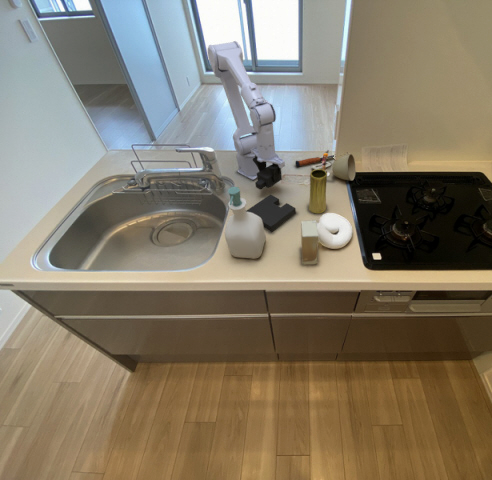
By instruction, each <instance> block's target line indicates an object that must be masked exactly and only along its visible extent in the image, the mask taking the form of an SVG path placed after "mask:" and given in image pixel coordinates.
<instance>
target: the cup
mask: <svg viewBox="0 0 492 480" xmlns="http://www.w3.org/2000/svg"><path fill="white" fill-rule="evenodd" d="M331 171H332V174H333V175H334V176H335V177H336V178H339V179H340V180H344V181H351V182H352V181H354V179H355V178H356V160H355V157H354V155H353V154H352V153H347V154H344V155H342V156H341V157H339V158H338V159H336V160H335V161H333V163H332V164H331Z"/></svg>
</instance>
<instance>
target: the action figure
mask: <svg viewBox="0 0 492 480" xmlns="http://www.w3.org/2000/svg"><path fill="white" fill-rule="evenodd" d="M329 152H330V150H329V149H327V150H326V151H325V152H324V153H322V155H321V158H322V161H321V163H322V170H324V171H326V168H327V167H326V168H325V166H326V165H325V164H326V162H327V159H329V158H328V156H329ZM326 173H327V178H328V177H329V176H330V175H331V174H330V173H331V172H329V171H326Z"/></svg>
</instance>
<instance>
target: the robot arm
mask: <svg viewBox="0 0 492 480" xmlns="http://www.w3.org/2000/svg"><path fill="white" fill-rule="evenodd" d="M207 57H208V61H209V64H210V67H211V69H212V72H213V74H214V77H216V78H219V79H220V81H221V82H220V83H221V84H222V87H223V90H224V93H225V96H226V99H227V101H228V105H229V107H230V110H231V113H232V116H233V120H234V123H235V125H236V130H235V131H234V133H233V134H232V141H233V145H234V148H235V151H236V162H237V166H238V169H237V173H239V174H241V175H243V176H244V177H246V178H248V179H250V180H252V181H254V180H255V179H257V173H258V172H260V171H261V170H263V169H265V168H266V167H268V168H269V170H270V172H271V175H272V180H273V182H276V181H278V178H279V173H280V171H281V172H282V168H284V167H285V166H286V161H285V160H283V159H282V158H281V157H280V156H279V155H278V153H276V146H275V135H274V123H275V122H276V119H277V114H276V110H275V107H274V105H273V103H272V102H270V101H269V100H267V99H265V98H264V96H263V93H262V92H261V90H260V88H259V86H258V85H257V84H256V83H255V82H252V81H251V79H250V76H249V74H248V72H247V70H246V68H245V66H244V54H243V49H242V47H241V45H240V44H239V42H238V41H236V40H234V41H231V42H224V43H217V44H209V45H207ZM239 87H240V89H239ZM244 104H245V105H246V107H247V109H248V110H249V116H248V114H247V111H246V107H245V105H244ZM249 117H250V119H249ZM250 120H251V123H252V125H251V123H250ZM267 163H271V164H270V165H268V166H267Z"/></svg>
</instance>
